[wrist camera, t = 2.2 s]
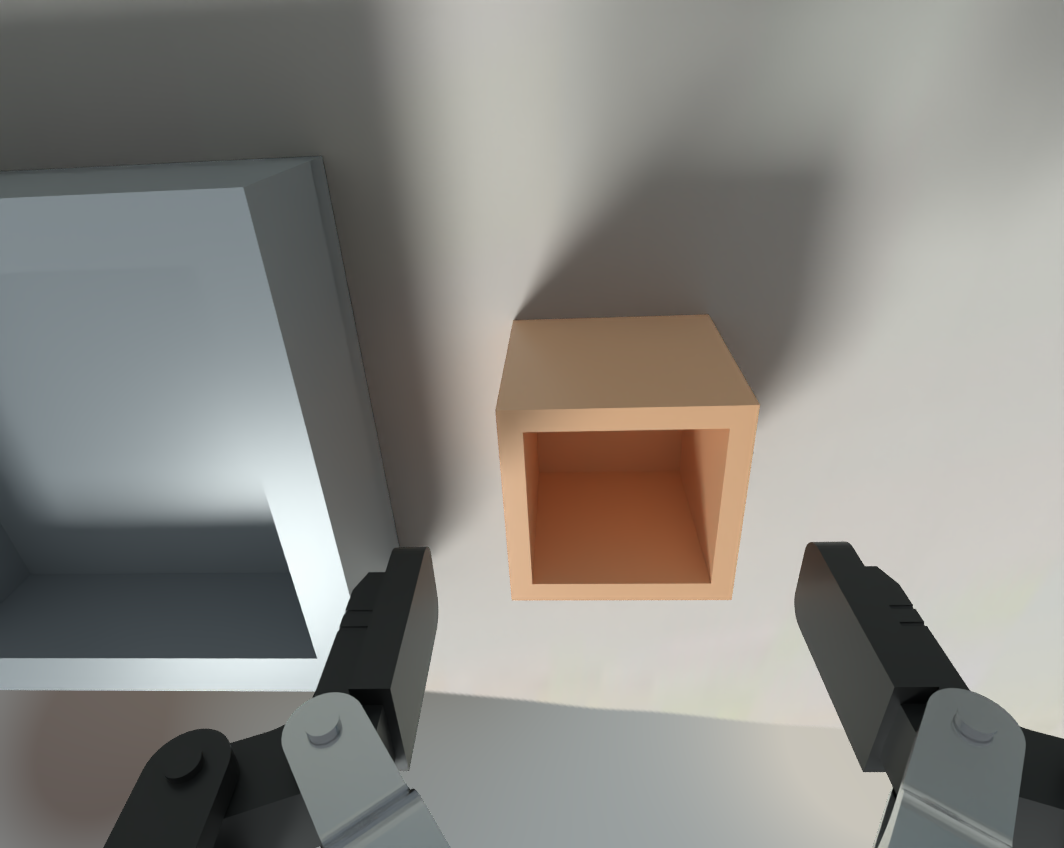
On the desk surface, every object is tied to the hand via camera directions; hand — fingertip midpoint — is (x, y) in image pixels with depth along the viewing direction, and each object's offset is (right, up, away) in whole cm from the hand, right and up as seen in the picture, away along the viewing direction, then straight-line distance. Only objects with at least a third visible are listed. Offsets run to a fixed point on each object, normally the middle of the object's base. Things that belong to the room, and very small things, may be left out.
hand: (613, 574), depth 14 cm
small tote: (+1, +4, +8) cm, 9 cm away
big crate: (-15, +4, +8) cm, 18 cm away
